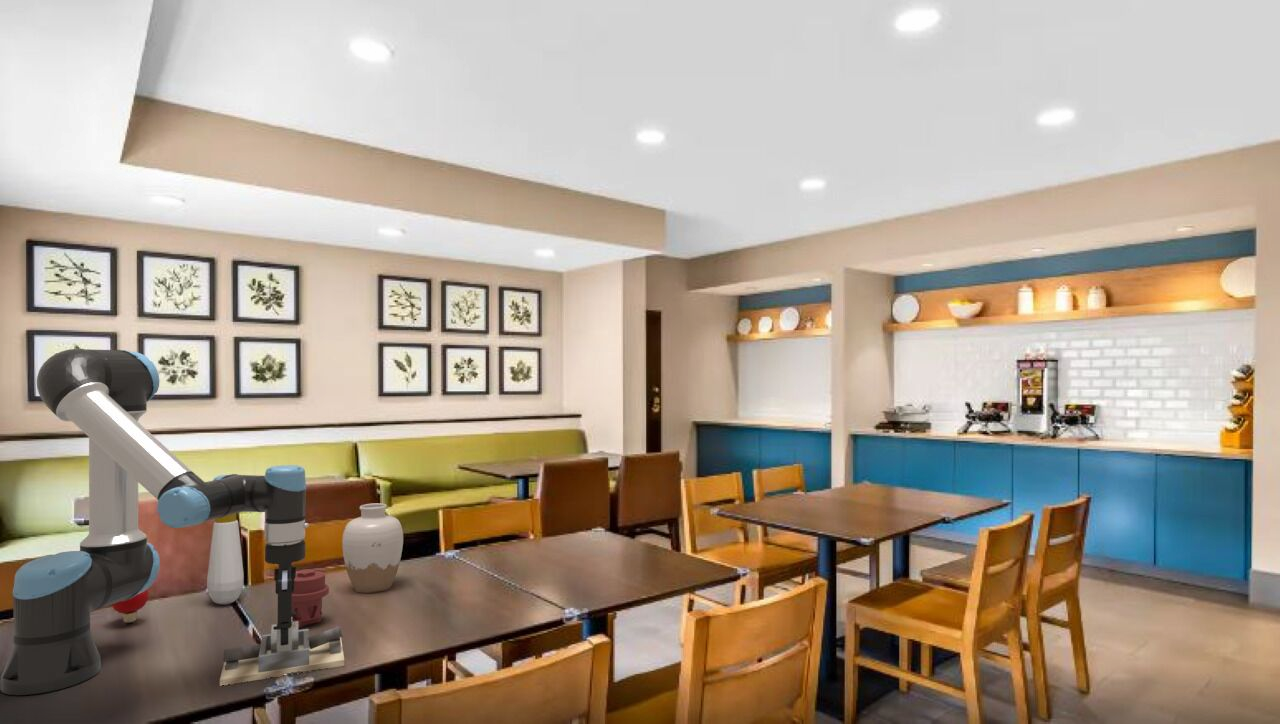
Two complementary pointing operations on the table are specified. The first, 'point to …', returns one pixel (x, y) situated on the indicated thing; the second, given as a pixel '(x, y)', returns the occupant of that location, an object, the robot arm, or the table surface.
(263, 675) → the shaft bench
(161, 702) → the table surface
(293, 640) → the block
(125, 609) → the red mushroom
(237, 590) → the soap bottle
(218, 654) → the table surface
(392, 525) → the vase
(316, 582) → the mechanical component
